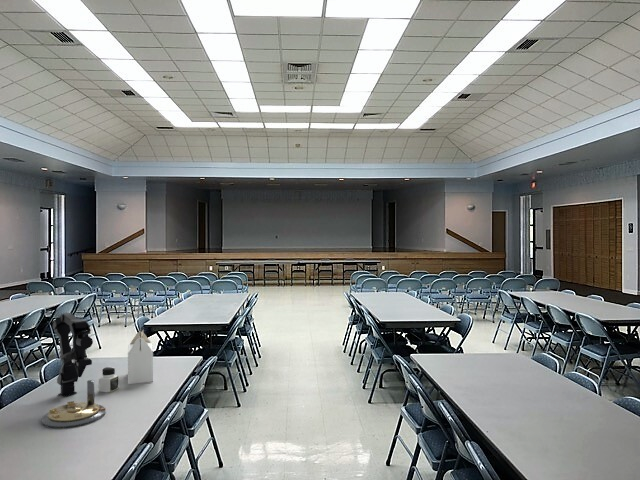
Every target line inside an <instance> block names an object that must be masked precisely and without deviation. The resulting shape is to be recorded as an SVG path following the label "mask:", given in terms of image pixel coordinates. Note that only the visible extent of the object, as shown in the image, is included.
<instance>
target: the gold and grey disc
mask: <svg viewBox="0 0 640 480" xmlns="http://www.w3.org/2000/svg"><path fill="white" fill-rule="evenodd" d="M98 405H99V406H100V411H99V412H98V413H97V414H96V415H94V416H92V417H90V418H87V419H83V420H79V421H73V422H53V421H51V420H49V419H48V413H49V411H48V412H46V413H45V414H44V415H43V416H42V417H41V424H42V426H44V427H46V428H51V429H68V428H76V427H80V426H84V425H89V424H91V423H95V422H97V421H100V420H101V419H102V418H103V417H105V415H106V407H105V406H104V405H101V404H98Z"/></svg>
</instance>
